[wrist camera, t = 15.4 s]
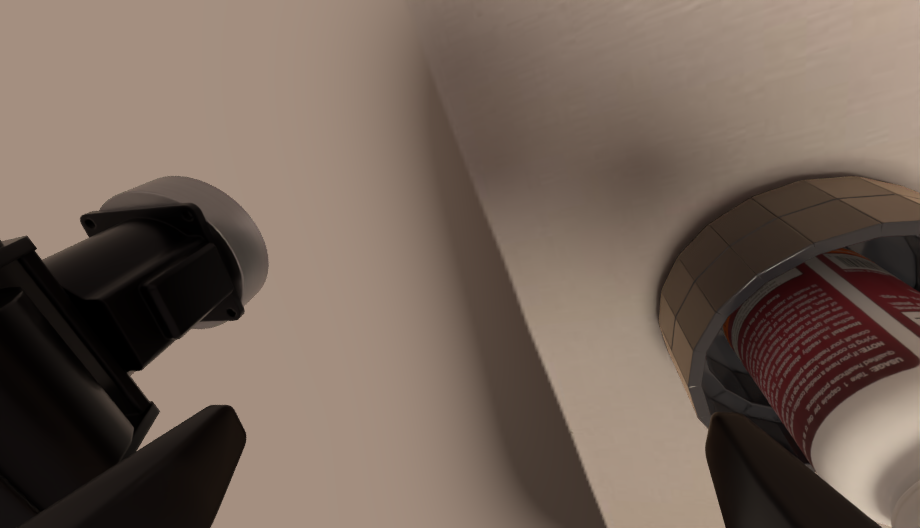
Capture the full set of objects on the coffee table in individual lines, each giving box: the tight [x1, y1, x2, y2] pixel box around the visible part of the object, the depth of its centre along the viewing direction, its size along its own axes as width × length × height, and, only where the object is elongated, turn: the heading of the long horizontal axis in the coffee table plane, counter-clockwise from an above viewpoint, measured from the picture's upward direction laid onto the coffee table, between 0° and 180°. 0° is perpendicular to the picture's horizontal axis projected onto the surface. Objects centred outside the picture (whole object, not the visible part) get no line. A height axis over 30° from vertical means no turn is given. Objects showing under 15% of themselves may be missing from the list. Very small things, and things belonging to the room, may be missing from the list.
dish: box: [659, 176, 920, 472], centre depth 18 cm, size 11×11×5 cm
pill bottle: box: [722, 247, 920, 528], centre depth 14 cm, size 6×6×11 cm
